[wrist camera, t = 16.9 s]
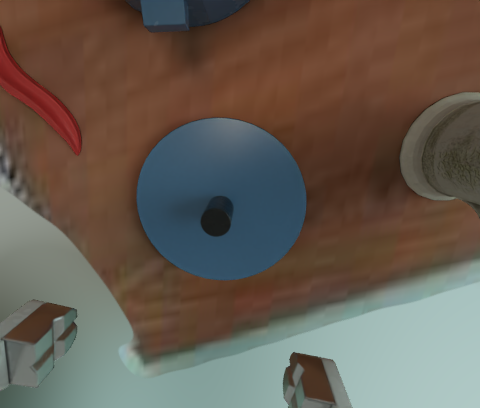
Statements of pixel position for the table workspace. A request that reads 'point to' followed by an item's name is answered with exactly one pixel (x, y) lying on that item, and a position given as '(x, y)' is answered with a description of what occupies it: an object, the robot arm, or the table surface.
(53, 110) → the cayenne pepper
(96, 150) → the table surface
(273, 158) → the lid
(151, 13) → the pot
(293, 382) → the robot arm
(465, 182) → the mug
